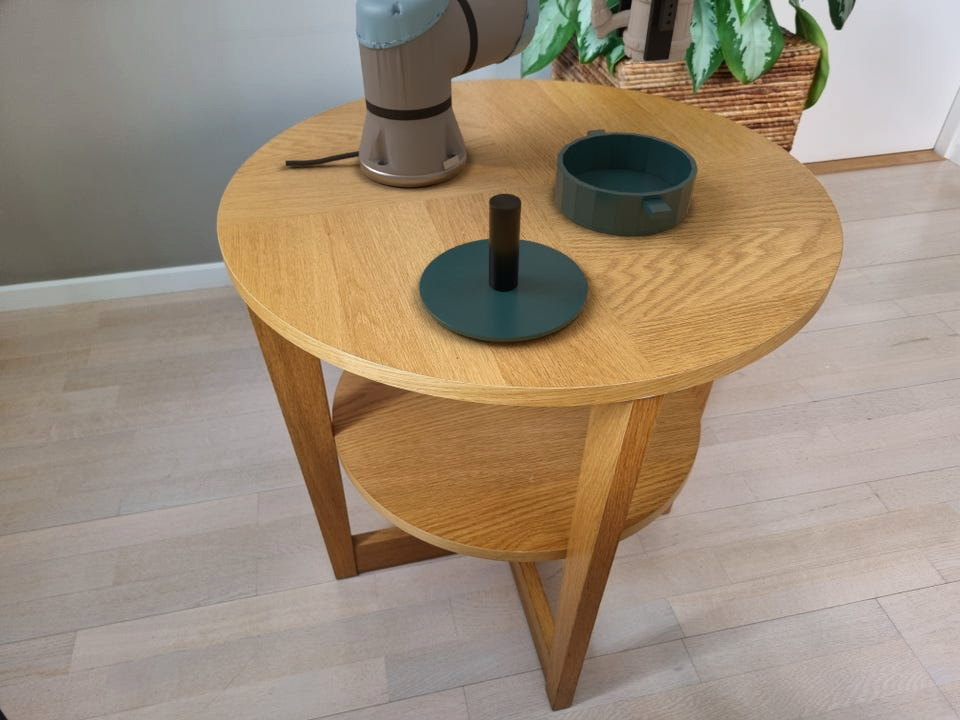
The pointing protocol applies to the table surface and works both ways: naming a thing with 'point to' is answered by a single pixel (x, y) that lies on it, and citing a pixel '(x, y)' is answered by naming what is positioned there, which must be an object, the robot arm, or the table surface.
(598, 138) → the shallow round tub
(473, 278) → the lid
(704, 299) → the table surface
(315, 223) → the table surface
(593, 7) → the mug
